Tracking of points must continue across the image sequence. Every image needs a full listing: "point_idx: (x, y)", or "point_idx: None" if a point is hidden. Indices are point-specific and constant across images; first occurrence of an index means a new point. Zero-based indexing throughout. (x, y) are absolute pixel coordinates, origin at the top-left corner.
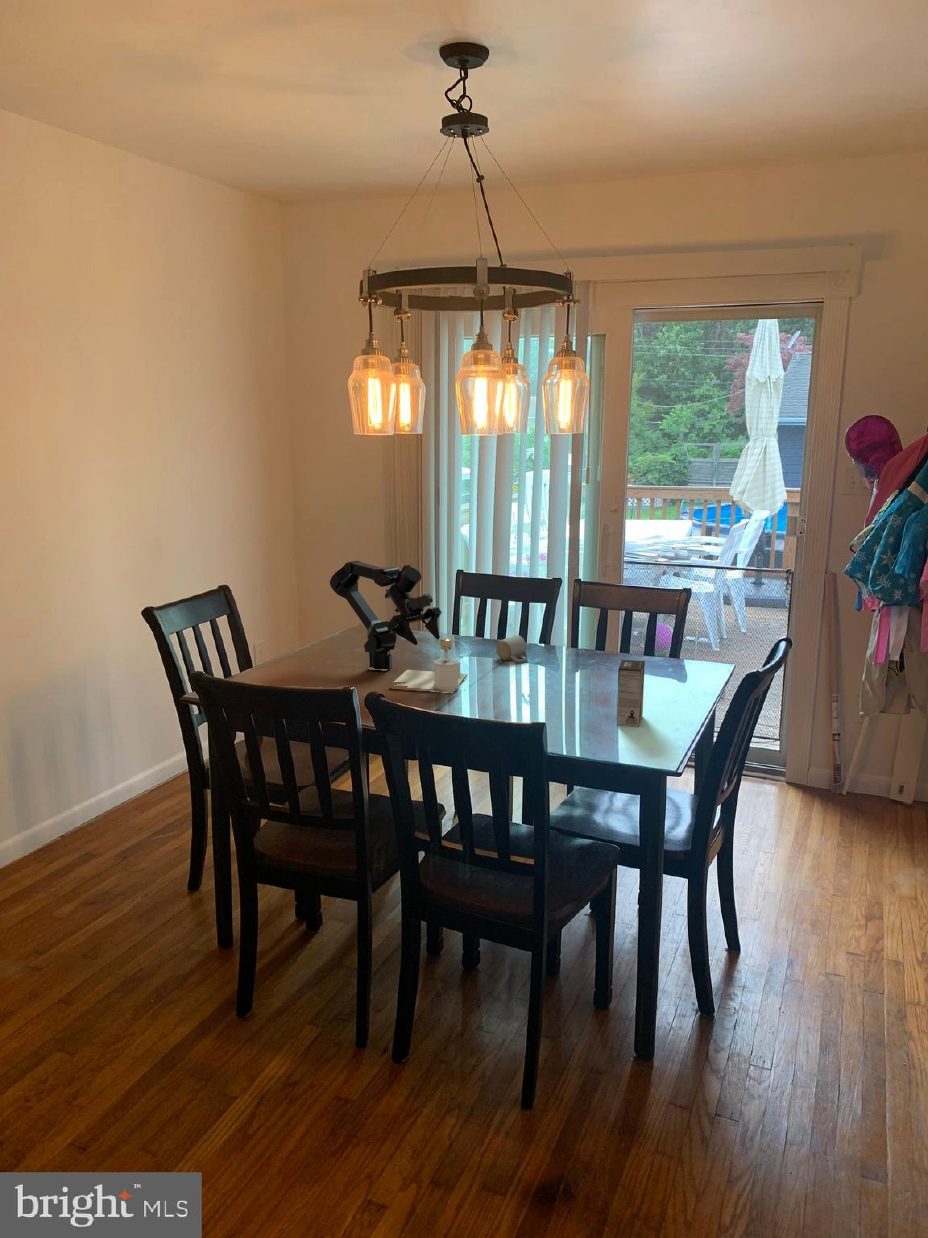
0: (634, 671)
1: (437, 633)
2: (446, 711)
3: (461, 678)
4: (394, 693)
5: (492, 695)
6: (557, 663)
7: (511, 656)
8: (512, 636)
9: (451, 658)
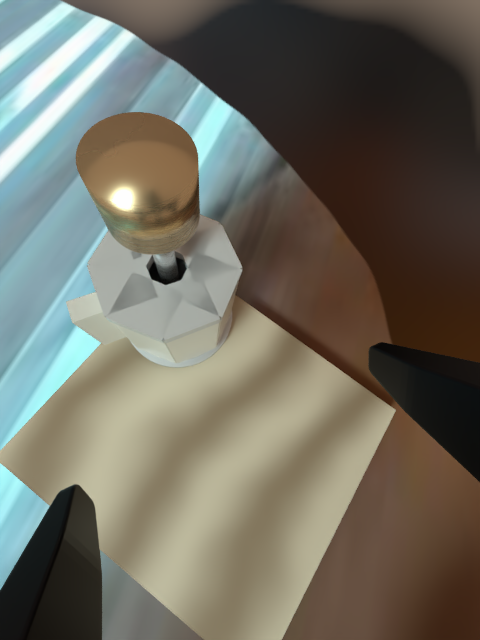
0: None
1: (53, 542)
2: (263, 143)
3: (65, 393)
4: None
5: (61, 198)
6: None
7: None
8: None
9: (104, 311)
